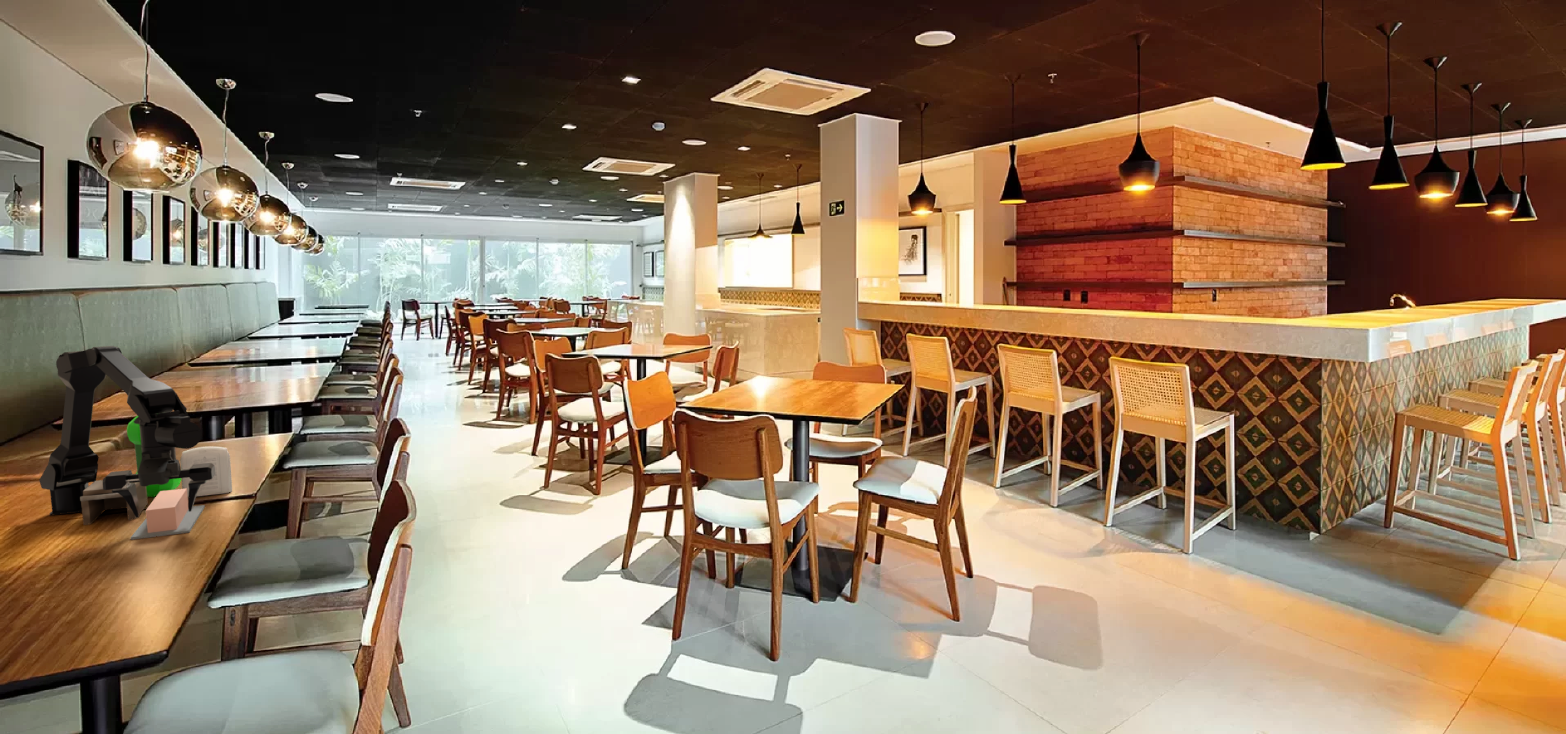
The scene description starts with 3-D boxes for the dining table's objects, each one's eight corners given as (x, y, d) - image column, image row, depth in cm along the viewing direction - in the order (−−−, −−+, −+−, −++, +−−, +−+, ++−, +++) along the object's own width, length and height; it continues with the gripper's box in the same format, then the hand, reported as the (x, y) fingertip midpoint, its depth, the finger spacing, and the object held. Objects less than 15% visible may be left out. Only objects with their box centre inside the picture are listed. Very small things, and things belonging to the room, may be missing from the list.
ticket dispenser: (82, 525, 173) (79, 493, 172) (99, 509, 185) (96, 479, 184) (134, 519, 178) (131, 488, 177) (147, 504, 190) (145, 474, 189)
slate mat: (130, 539, 165) (130, 537, 165) (152, 512, 183) (152, 510, 183) (189, 532, 169) (189, 530, 169) (204, 507, 188) (204, 505, 188)
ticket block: (147, 532, 167) (145, 510, 167) (161, 511, 182) (160, 491, 181) (176, 529, 170) (174, 507, 169) (188, 508, 184) (186, 488, 184)
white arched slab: (233, 489, 203) (229, 443, 202) (232, 493, 199) (228, 446, 198) (183, 495, 197) (179, 447, 196) (182, 499, 194) (177, 450, 192)
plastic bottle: (134, 502, 191) (124, 401, 188) (132, 493, 199) (123, 396, 196) (185, 494, 198) (176, 397, 195) (181, 486, 206) (173, 392, 203)
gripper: (91, 456, 158) (99, 531, 160) (205, 447, 167) (210, 518, 169) (106, 446, 168) (113, 516, 170) (212, 437, 177) (218, 504, 179)
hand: (164, 514), depth 171 cm, fingers open, 9 cm apart
